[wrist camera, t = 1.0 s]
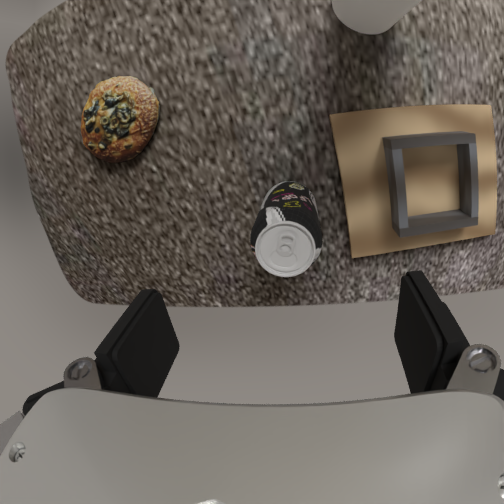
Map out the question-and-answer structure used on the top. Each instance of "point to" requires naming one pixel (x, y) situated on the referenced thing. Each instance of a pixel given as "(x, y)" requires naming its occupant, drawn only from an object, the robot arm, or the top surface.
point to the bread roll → (119, 119)
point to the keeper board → (416, 175)
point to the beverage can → (287, 230)
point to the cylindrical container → (371, 13)
